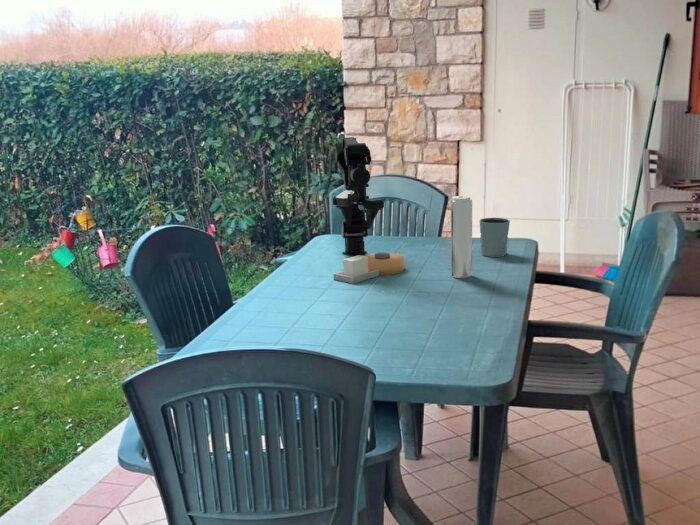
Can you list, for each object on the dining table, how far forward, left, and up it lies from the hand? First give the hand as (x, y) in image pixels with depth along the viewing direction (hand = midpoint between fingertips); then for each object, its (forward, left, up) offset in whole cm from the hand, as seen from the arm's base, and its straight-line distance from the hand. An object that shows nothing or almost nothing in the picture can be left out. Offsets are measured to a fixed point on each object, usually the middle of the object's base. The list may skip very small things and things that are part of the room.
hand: (358, 227), depth 271 cm
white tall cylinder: (+38, +6, -12) cm, 40 cm away
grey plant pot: (+30, +36, -12) cm, 48 cm away
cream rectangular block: (+13, -15, -12) cm, 23 cm away
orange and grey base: (+13, -9, -12) cm, 20 cm away
